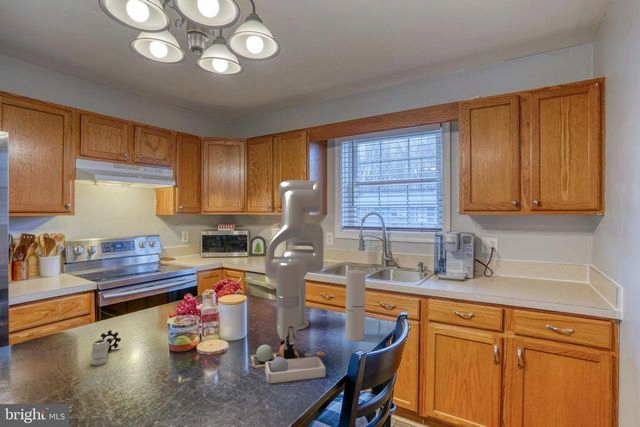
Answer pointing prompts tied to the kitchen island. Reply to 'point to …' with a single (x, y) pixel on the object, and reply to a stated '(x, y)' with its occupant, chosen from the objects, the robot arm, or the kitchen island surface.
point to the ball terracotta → (283, 350)
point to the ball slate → (279, 365)
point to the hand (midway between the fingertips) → (287, 356)
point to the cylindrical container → (355, 305)
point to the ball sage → (264, 353)
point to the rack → (264, 364)
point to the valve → (103, 348)
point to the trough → (297, 370)
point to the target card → (316, 354)
